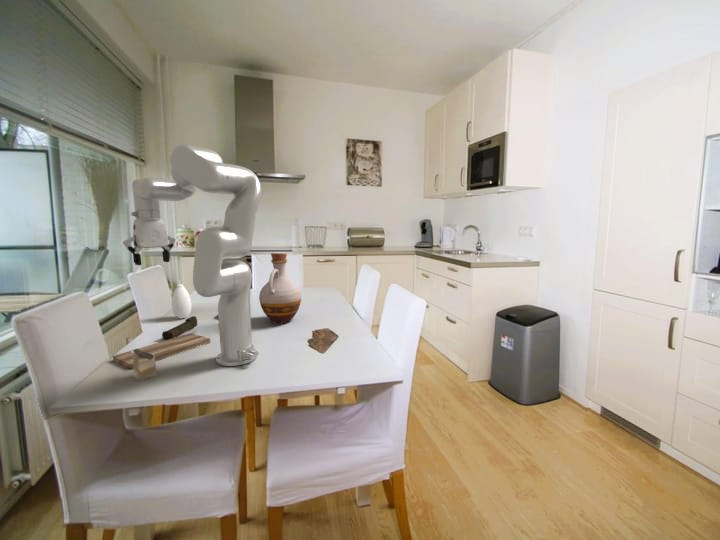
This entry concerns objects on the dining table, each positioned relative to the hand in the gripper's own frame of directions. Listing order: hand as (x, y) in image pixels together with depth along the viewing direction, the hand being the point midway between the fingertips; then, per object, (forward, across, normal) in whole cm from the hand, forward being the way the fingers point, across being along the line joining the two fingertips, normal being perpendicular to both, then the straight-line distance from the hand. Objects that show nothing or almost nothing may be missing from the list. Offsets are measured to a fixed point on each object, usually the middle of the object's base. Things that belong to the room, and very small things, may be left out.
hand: (152, 263), depth 124 cm
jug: (+29, +40, -22) cm, 54 cm away
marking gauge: (+29, -18, -28) cm, 44 cm away
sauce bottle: (+29, +19, +18) cm, 39 cm away
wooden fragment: (+29, +32, -52) cm, 68 cm away
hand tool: (+29, +8, 0) cm, 30 cm away
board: (+28, -5, -14) cm, 32 cm away
